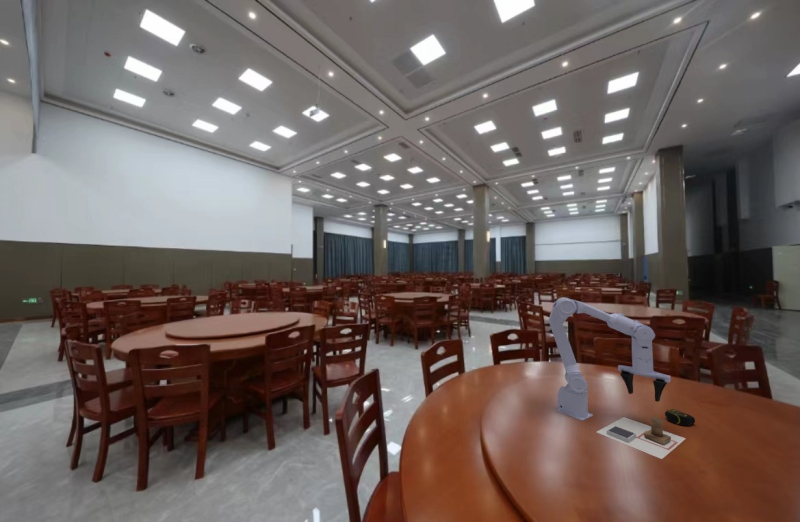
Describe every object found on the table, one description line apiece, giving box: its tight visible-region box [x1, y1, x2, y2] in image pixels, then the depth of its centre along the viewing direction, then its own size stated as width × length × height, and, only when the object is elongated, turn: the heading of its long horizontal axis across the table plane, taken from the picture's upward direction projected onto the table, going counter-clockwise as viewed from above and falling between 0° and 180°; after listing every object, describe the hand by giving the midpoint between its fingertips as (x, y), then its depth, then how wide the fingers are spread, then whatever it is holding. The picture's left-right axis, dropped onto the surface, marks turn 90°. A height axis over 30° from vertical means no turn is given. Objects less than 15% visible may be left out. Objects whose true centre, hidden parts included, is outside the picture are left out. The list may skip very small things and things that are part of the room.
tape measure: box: [664, 408, 696, 427], centre depth 105 cm, size 7×7×4 cm
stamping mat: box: [596, 416, 687, 460], centre depth 96 cm, size 17×21×2 cm
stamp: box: [644, 416, 671, 445], centre depth 93 cm, size 5×5×6 cm
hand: (643, 396), depth 103 cm, fingers open, 7 cm apart
